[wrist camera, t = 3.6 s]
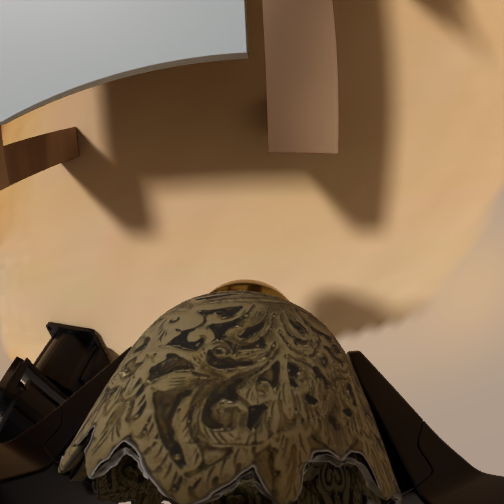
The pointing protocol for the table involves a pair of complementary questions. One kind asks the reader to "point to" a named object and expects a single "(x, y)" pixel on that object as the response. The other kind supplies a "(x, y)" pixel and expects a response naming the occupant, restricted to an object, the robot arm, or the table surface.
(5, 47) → the trapdoor
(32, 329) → the table surface
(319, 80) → the frame
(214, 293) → the brass rounded piece
